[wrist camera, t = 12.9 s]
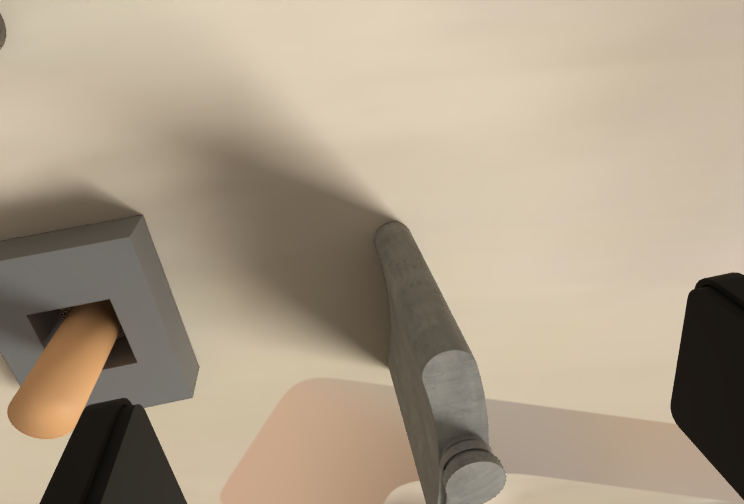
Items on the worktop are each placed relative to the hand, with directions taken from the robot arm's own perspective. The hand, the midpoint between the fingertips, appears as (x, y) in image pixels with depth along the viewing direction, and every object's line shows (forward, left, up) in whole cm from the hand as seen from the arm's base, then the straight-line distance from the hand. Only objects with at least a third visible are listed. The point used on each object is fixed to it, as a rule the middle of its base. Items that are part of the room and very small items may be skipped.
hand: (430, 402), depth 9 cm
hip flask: (+20, +4, -34) cm, 39 cm away
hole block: (+15, -21, -33) cm, 42 cm away
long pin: (+15, -21, -33) cm, 42 cm away
